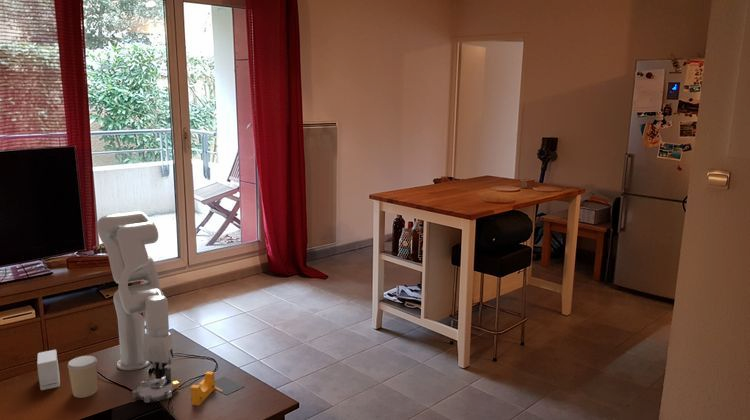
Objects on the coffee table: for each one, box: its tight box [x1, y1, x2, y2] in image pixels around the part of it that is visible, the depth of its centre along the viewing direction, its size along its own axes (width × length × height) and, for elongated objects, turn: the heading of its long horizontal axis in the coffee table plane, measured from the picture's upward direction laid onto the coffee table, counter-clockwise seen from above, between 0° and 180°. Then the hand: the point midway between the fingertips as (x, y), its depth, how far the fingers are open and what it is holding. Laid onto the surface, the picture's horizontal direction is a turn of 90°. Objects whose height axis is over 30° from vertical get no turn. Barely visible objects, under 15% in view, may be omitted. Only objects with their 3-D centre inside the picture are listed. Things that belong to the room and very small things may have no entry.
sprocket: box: [131, 367, 180, 403], centre depth 205 cm, size 15×14×7 cm
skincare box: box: [36, 349, 61, 391], centre depth 213 cm, size 10×6×10 cm, turn 29°
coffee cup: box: [67, 355, 98, 398], centre depth 206 cm, size 9×9×12 cm
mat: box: [214, 376, 245, 396], centre depth 213 cm, size 12×8×1 cm, turn 51°
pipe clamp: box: [190, 370, 216, 406], centre depth 205 cm, size 12×4×6 cm, turn 168°
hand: (160, 377), depth 210 cm, fingers closed
